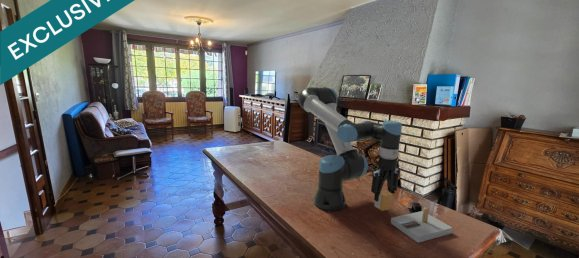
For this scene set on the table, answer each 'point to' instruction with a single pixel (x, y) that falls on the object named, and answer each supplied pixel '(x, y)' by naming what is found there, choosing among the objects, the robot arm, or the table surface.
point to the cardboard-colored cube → (385, 200)
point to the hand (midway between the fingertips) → (382, 206)
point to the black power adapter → (415, 208)
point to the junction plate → (421, 225)
